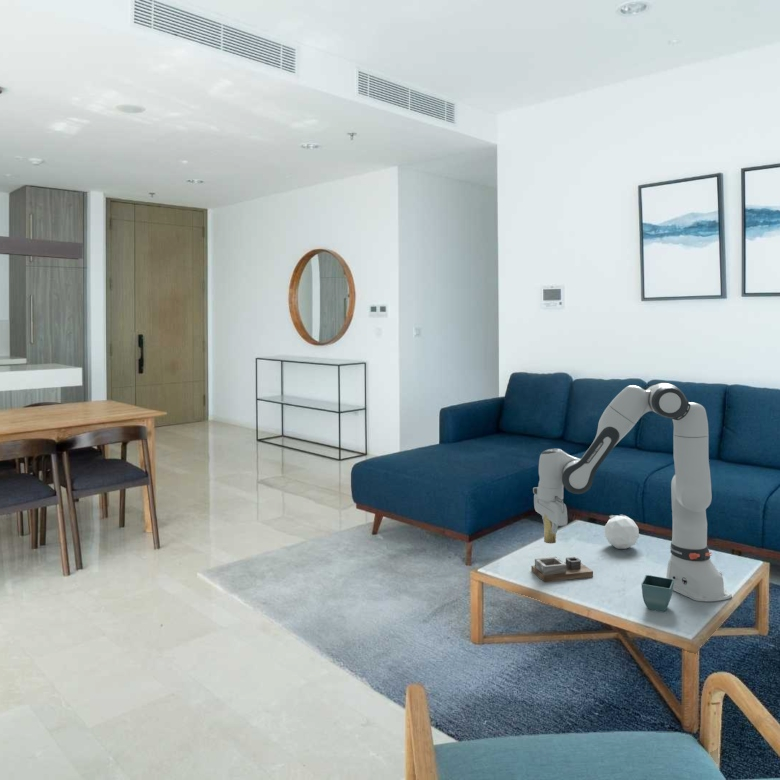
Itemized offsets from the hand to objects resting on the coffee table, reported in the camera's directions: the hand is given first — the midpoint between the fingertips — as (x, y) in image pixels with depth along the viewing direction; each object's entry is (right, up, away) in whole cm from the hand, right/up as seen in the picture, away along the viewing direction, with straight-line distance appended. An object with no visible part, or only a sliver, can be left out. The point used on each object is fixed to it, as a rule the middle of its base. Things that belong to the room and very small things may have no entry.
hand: (550, 530), depth 250 cm
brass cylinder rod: (0, -4, 0) cm, 4 cm away
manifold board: (+5, -16, +3) cm, 17 cm away
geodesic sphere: (+36, -13, +30) cm, 48 cm away
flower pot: (+28, -20, -28) cm, 44 cm away
